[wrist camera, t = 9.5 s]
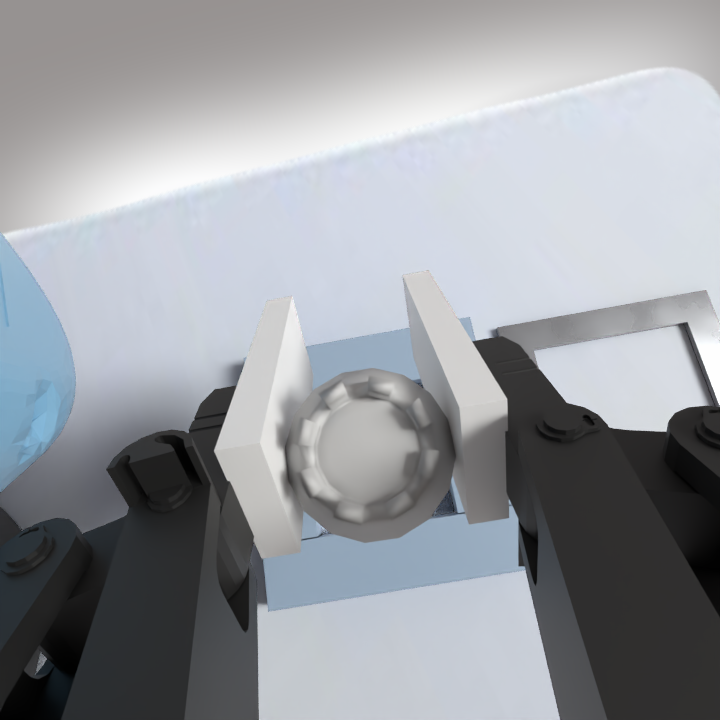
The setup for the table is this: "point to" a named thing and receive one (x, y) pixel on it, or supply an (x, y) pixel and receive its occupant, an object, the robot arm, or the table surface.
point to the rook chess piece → (370, 455)
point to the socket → (394, 556)
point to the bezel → (632, 329)
